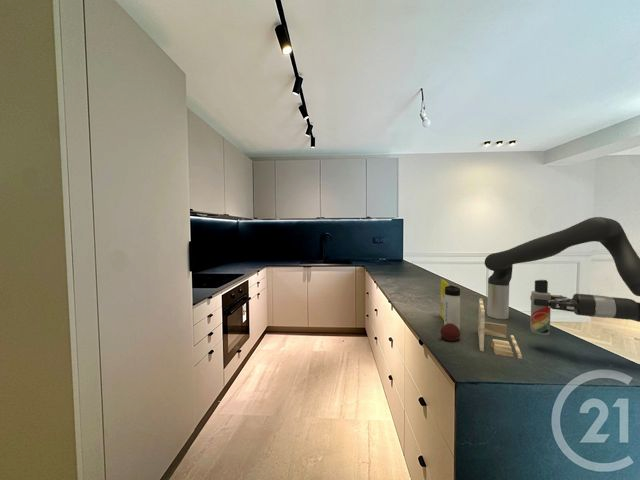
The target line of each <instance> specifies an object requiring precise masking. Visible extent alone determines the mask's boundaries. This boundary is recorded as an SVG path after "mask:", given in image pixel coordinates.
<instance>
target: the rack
mask: <svg viewBox="0 0 640 480" xmlns="http://www.w3.org/2000/svg"><path fill="white" fill-rule="evenodd" d="M485 315H486V311H485V307H484V299H483V298H482V297H481V298H478V320H477V321H478V325H477V326H478V329H477V334H478V344H479V351H480V352H485V350H484V349H485V348H484V347H485V336H493V337H498V338H503V339H504V338H505V339H506V338H507V329H508V328H507V324H501V323H495V322H489V321H485V320H486V319H485V318H486V317H485ZM510 340H511V342H512V343H511V344H512V345H513V348H514V351H515V353H516V356H517V359H521V360H522V359H523V354H522V352H521V350H520V347H519V345H518V342H517V340H516V338H515V336H514V335H512V334H510Z"/></svg>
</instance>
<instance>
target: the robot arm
mask: <svg viewBox="0 0 640 480" xmlns="http://www.w3.org/2000/svg"><path fill="white" fill-rule="evenodd" d="M628 238H629V237H628V236H627V234H626V232H625V230H624V228H623V227H622V225H621V223H619V221H617V220H615V219H612V218H608V217H602V216H595V217H589V218H587V219H584V220H583V221H580V222H579V223H576V224H574V225H571V226H570V227H567V228H564V229H562V230H559V231H556V232H552V233H550V234H547V235H543V236H540V237H537V238H535V239H531V240H529V241H526V242H523V243H521V244H519V245H516V246H514V247H511V248H509V249H507V250H502V251H499V252H493V253H489V254H488V255H487V256H486V257H485V259H484V265H485V267H486V269H488V270H489V271H493V272H492V274H491V275H490V276H489V277H488V279H487V303H486V304H487V307H486V309H487V310H486V315H487V316H488V317H490V318H492V319H497V320H507V319H509V311H510V309H509V308H510V307H509V306H510V282H511V280H512V278H513V277H512V275H513V265H515V264H521V263H522V264H523V263H529V262H536V261H540V260H544V259H547V258H551V257H553V256H556V255H558V254H560V253H561V252H564V251H565V250H566V249H568V248H571V247H574V246H577V245H582V244H586V243H591V242H598V243H600V244H601V246H603V247H604V248H605V249H606V250H607V251H608V253H610V255H611V257H612V259H613V262H614V264H615V267H616V270H617V271H616V272H617V273H618V275H619V277H620V278H621V279H622V281H623V282H624V284H625V286H627V288H628V289H629V291H630V292H631V293H632V294H633V295H634V296H637V297H640V256H639V255H638V253H637V252H636V250H635V249H634V247H633V246H632V244H631V243H630V242H631V241H629V239H628ZM529 297H530V298H529V299H530V301H531V295H530V296H529ZM534 305H538V306H548V307H549V308H551V309H552V310H557V311H565V312H571V313H574V314H575V315H576V316H584V317H593V318H603V319H618V320H627V321H628V320H630V321H635V322H639V323H640V302H637V301H636V300H634V299H632V298H627V297H615V296H605V295H599V294H586V293H574V294H573V295H572V298H568V297H567V296H563V295H561V294H560V295H556V294H555V295H554V294H551V300H548V301H547V300H541V299H534Z"/></svg>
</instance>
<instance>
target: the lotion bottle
mask: <svg viewBox="0 0 640 480" xmlns="http://www.w3.org/2000/svg"><path fill="white" fill-rule="evenodd" d="M548 285H549V282H548V280H547V279H536V280H534V290H532V291H531V294H530V296H531V300H530V324H529V325H530V332H532V333H535V334H537V335H544V336H547V335H550V331H551V308H549V307H548V306H538V305H534V299H541V300H547V301H548V300H551V295H552V294H551V292H548V291H549V289H548V288H549V286H548Z"/></svg>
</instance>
